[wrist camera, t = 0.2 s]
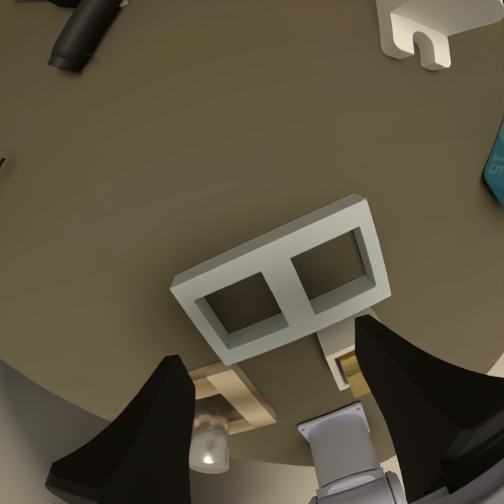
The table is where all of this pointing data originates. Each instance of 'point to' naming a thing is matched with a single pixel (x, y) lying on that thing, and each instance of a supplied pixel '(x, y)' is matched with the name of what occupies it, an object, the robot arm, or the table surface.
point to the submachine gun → (81, 30)
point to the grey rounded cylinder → (210, 435)
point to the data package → (496, 167)
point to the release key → (354, 374)
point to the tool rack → (285, 281)
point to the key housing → (340, 343)
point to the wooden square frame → (234, 395)
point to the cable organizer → (431, 26)
